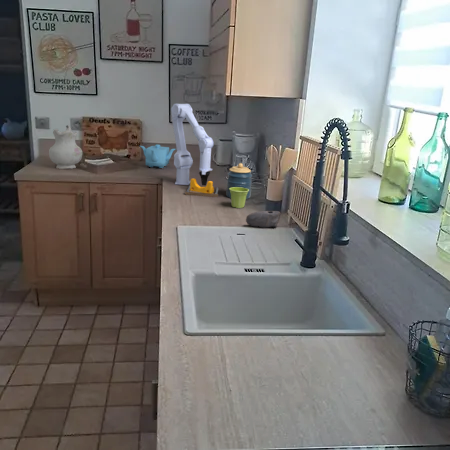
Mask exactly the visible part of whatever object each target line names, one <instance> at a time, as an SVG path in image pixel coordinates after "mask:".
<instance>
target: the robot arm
mask: <svg viewBox="0 0 450 450" xmlns="http://www.w3.org/2000/svg"><path fill="white" fill-rule="evenodd" d="M170 111H171V121H172V122H171V123H172V128H173V133H174V135H173V136H174V142H175V146H176V148H175V149H176V152H175V153H174V155H173V166H174V167H175V169H176V177H175V179H176V181H175V182H174V185H178V186H179V185H182V186H183V185H184V186H189V185H190V182H191V180H190V169H191V167H192V166H193V164H194V162H193V161H194V160H193V157H192V155H191V152H189V151H188V149H187V144H186V143H187V142H186V137H185V131H184V125H183V122H184V120H185V119H186V121H187V122H188V123H189V125H190V126H191V127H192V129H193V130H192V133H193V135H194V136H195V138H196V140H197V141H198V144H197V145H198V147H199V153H200V155H199V168H198V170H199V173H198V174H199V176H200V181H201V186H204V187H206V185H207V182H208V178H209V176H210V174H211V172H210V171H213V168H211V161H212V160H211V159H212V156H211V155H212V149H213V147H214V144H215V143H214V140H213V137H210V136H209V135H208V134H207V132H206V131H205V128H204V127H203V126H201V125H199V122H198V121H197V119H196V117H195V115H194V113H193V108H192V106H191V105H190V103H173V104H172V106H171V108H170Z"/></svg>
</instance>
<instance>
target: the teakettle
mask: <svg viewBox="0 0 450 450" xmlns="http://www.w3.org/2000/svg"><path fill="white" fill-rule="evenodd" d="M139 147H140V148H141V149H142V150H143V155H144V157H145V166H147V167H153V168H154V167H158V169H159V168H165V167H164V166H166V167H167V165H168V164H170V159H171V158H172V154H173V153H174V151H177V148H171V149H170V147H169V146H161V144H155V145H151V146H148V147H147V148H146V147H145V146H144V145H139Z"/></svg>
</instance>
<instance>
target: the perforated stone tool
mask: <svg viewBox="0 0 450 450" xmlns="http://www.w3.org/2000/svg"><path fill="white" fill-rule="evenodd" d="M281 214H282V213H281V212H280V211H278V210H263V211H256V212H252V213H250V214H248V215H246V218H245V222H246V223H247V225H249V226H251V227H258V226H259V228H271V227H272V228H277V226H278V224H279V223H280V219H281V216H282V215H281Z"/></svg>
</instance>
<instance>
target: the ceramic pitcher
mask: <svg viewBox="0 0 450 450" xmlns="http://www.w3.org/2000/svg"><path fill="white" fill-rule="evenodd" d="M65 127H66V129H65V131H63V130H62V131H59V128H54V129H53V130H52V131H53V132H52V134H53V136H54V141H55V142H54V144H53V145H52V146H50V148H49V149H48V156H49V159H50V161H51V162H52V163H53V164H55V165H56V166H55V167H56V169H57V168H59V169H58V170H65V169H67V170H68V169H71V170H73V169H75V168H76V167H77V166H76V164H78V163H80V162H81V160H82V158H83V150H82V148H81V147H80V146H79V145H77V142H76V137H77V136H78V133H77V132H76V131H75V132H73V131H72V128H71V126H70V125H69V124H67V125H65Z"/></svg>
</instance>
